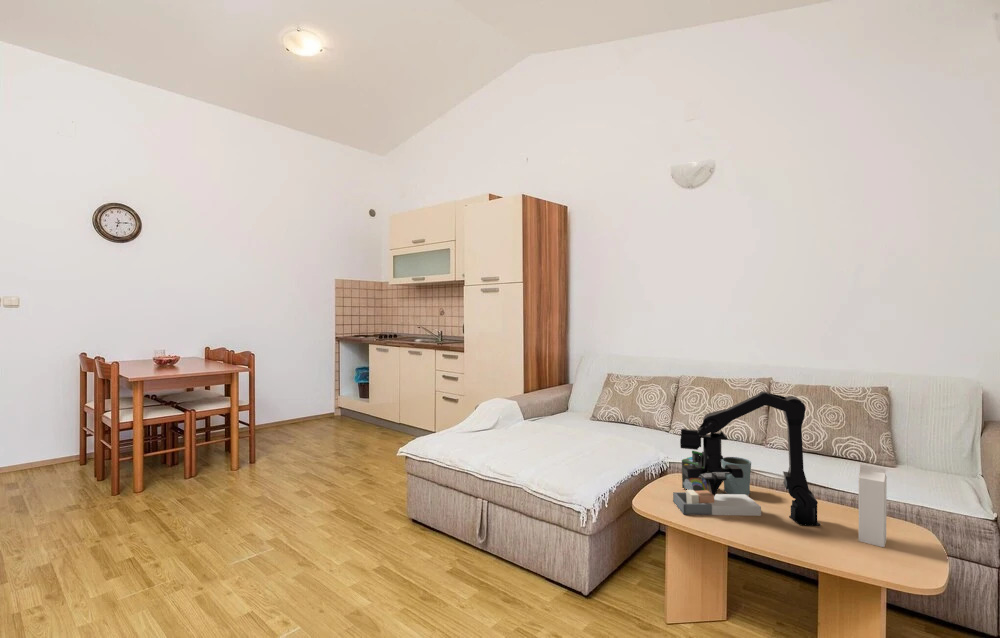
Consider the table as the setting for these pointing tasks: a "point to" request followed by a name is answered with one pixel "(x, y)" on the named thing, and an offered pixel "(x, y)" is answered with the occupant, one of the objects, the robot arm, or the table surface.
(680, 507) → the tray
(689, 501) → the tile
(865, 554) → the table surface
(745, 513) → the board
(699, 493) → the tile
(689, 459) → the chalk box
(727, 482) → the grey-blue cup
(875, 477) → the milk
